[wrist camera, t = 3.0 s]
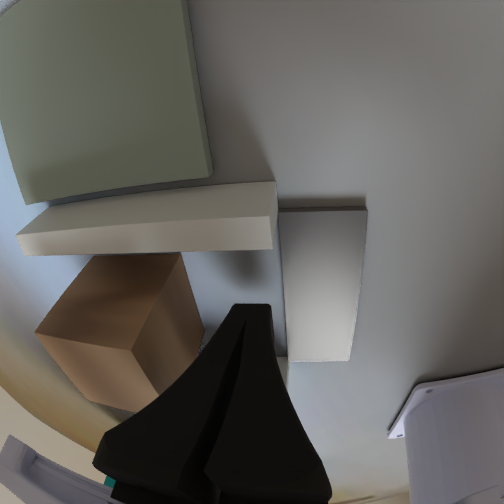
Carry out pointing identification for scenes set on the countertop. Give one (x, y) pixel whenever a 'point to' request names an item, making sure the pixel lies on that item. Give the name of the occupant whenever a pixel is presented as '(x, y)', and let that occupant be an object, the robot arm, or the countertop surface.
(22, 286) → the countertop surface
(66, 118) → the coaster
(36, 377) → the countertop surface
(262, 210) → the white u-shaped frame
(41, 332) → the block
